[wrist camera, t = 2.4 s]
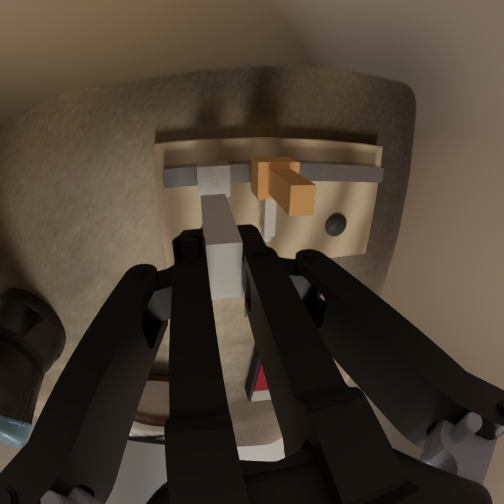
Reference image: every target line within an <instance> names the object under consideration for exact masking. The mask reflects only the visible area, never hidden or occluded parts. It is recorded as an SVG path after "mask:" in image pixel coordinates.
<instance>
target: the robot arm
mask: <svg viewBox="0 0 504 504" xmlns="http://www.w3.org/2000/svg"><path fill="white" fill-rule="evenodd" d="M201 210H202V226H203V228H201V229H189V230H183V231H182V232H181V233H180V234H179V236H177V237H176V238H174V239H173V241H172V247H173V254H174V265H173V266H171V267H169V268H167V269H164V270H161V271H158V272H157V269H156V267H155V266H153V265H150V264H139V265H135V266H134V267H132V268H130V269H129V270H128V271H127V272H126V273H125V274H124V276H123V277H122V278H121V280H120V281H119V283H118V284H117V286H116V287H115V288H114V290H113V291H112V293H111V294H110V296H109V297H108V299H107V300H106V302H105V303H104V305H103V306H102V308H101V309H100V311H99V312H98V314H97V315H96V317H95V318H94V320H93V321H92V323H91V324H90V326H89V328H88V329H87V331H86V332H85V334H84V336H83V337H82V339H81V341H80V342H79V344H78V345H77V347H76V349H75V351H74V352H73V354H72V356H71V357H70V359H69V361H68V363H67V364H66V366H65V368H64V370H63V371H62V373H61V375H60V377H59V379H58V381H57V382H56V384H55V386H54V388H53V390H52V392H51V394H50V396H49V398H48V400H47V402H46V404H45V406H44V408H43V410H42V412H41V414H40V416H39V418H38V421H37V423H36V425H35V427H34V429H33V432H32V434H31V436H30V439H29V441H28V443H27V444H26V442H27V439H28V435H29V432H30V429H31V428H32V425H31V424H32V419H33V415H34V411H35V407H36V403H37V399H38V395H39V391H40V388H41V384H42V381H43V378H44V375H45V373H46V372H47V371H48V370H49V369H50V367H51V366H52V365H53V363H54V362H55V361H56V360H57V359H58V358H59V357H60V356H61V354H62V352H63V349H64V346H65V343H66V335H65V331H64V328H63V326H62V324H61V322H60V320H59V319H58V317H57V316H56V315H55V313H54V312H53V311H52V310H51V309H50V308H49V307H48V306H47V305H46V304H45V303H44V302H43V301H41V300H40V299H39V298H37V297H36V296H34V295H32V294H30V293H28V292H26V291H23V290H20V289H8V290H6V291H4V292H3V293H2V294H1V296H0V442H1V443H4V444H6V445H10V446H14V447H22V446H24V445H25V444H26V445H25V446H24V447H23V448H22V449H21V450H20V451H19V453H18V454H17V455H16V456H15V457H14V458H13V459H12V460H11V461H10V463H9V464H8V465H7V466H6V467H5V468H4V469H3V471H2V472H1V473H0V504H105V503H106V501H107V499H108V497H109V495H110V493H111V491H112V489H113V486H114V484H115V481H116V478H117V474H118V471H119V467H120V464H121V460H122V457H123V453H124V450H125V447H126V443H127V440H128V437H129V433H130V430H131V427H132V424H133V421H134V418H135V415H136V412H137V408H138V405H139V402H140V400H141V397H142V394H143V391H144V388H145V385H146V382H147V379H148V376H149V374H150V371H151V368H152V365H153V362H154V360H155V357H156V354H157V352H158V349H159V346H160V344H161V341H162V338H163V336H164V333H165V330H166V328H167V325H168V319H170V340H169V418H167V419H166V421H165V427H164V436H165V456H166V469H167V482H166V483H165V484H163V485H162V486H161V487H160V488H159V489H158V490H157V491H156V492H155V493H154V494H153V495H152V497H151V498H150V499H149V500H148V502H147V503H146V504H492V499H491V496H490V494H489V492H488V490H487V489H486V488H485V487H484V486H483V485H482V484H483V481H484V479H485V476H486V473H487V470H488V467H489V464H490V461H491V458H492V454H493V451H494V447H495V444H496V440H497V439H498V437H500V436H501V435H502V434H503V433H504V390H502V389H500V388H498V387H496V386H494V385H492V384H490V383H488V382H486V381H484V380H482V379H480V378H478V377H476V376H474V375H472V374H470V373H468V372H466V371H465V370H464V369H463V368H462V367H461V366H460V365H459V364H458V363H456V362H455V361H454V360H453V359H452V358H451V357H450V356H449V355H448V354H446V353H445V352H444V351H443V350H442V349H441V348H440V347H438V346H437V345H436V344H435V343H434V342H433V341H431V340H430V339H429V338H428V337H427V336H426V335H424V334H423V333H422V332H421V331H420V330H419V329H418V328H416V327H415V326H414V325H413V324H412V323H410V322H409V321H408V320H407V319H406V318H404V317H403V316H402V315H401V314H400V313H398V312H397V311H396V310H395V309H394V308H392V307H391V306H390V305H389V304H387V303H386V302H385V301H384V300H382V299H381V298H380V297H379V296H378V295H376V294H375V293H374V292H373V291H371V290H370V289H369V288H368V287H366V286H365V285H364V284H363V283H361V282H360V281H359V280H357V279H356V278H355V277H354V276H352V275H351V274H350V273H348V272H347V271H346V270H345V269H343V268H342V267H341V266H339V265H338V264H337V263H336V262H334V261H333V260H332V259H330V258H329V257H328V256H326V255H325V254H324V253H322V252H320V251H317V250H314V249H304V250H300V251H298V252H297V253H296V256H295V259H289V258H282V257H279V256H278V254H277V252H276V251H275V250H274V249H273V248H271V247H268V246H267V245H266V244H265V242H264V240H263V238H262V236H261V234H260V232H259V230H258V228H257V227H255V226H254V225H252V224H245V225H236V222H235V220H234V217H233V214H232V211H231V209H230V206H229V203H228V200H227V197H226V195H225V194H215V195H201ZM243 290H244V294H245V317H247V315H248V318H249V322H250V326H251V329H252V333H253V336H254V340H255V344H256V347H257V351H258V354H259V358H260V361H261V365H262V369H263V372H264V376H265V379H266V383H267V386H268V389H269V393H270V396H271V400H272V403H273V407H274V410H275V413H276V417H277V420H278V423H279V427H280V430H281V433H282V437H283V442H284V452H285V458H284V459H282V460H279V461H275V462H266V461H246V460H239V455H238V450H237V446H236V441H235V436H234V431H233V426H232V421H231V416H230V413H229V408H228V403H227V397H226V391H225V385H224V380H223V373H222V367H221V361H220V355H219V348H218V341H217V334H216V327H215V320H214V313H213V305H212V300H219V299H229V298H239V297H243ZM321 294H322V295H323V296H324V298H325V301H324V300H322V299H321V298H320V296H321ZM332 357H333V358H334V359H335V360H336V362H337V363H338V364H339V365H340V366H341V367H342V368H343V370H344V371H345V372H346V373H347V374H348V375H349V376H350V377H351V379H353V381H354V382H355V383H356V384H357V385H358V386H359V388H360V389H361V390H360V389H359V388H357V387H349V386H347V384H346V383H345V381H344V379H343V377H342V375H341V373H340V371H339V370H338V368H337V366H336V364H335V362H334V360H333V358H332ZM362 391H363V392H364V393H365V394H366V395H367V396H368V397H369V399H370V400H371V401H372V402H373V403H374V404H375V405H376V407H377V408H378V409H379V410H380V411H381V412H382V413H383V414H384V416H385V417H386V418H387V419H388V420H389V421H390V422H391V423H392V424H393V425H394V427H395V428H396V429H397V430H398V431H399V432H400V433H401V434H402V435H403V436H404V437H406V438H407V439H408V440H409V441H411V442H412V443H413V444H415V445H416V446H418V447H420V448H421V449H423V450H424V451H423V453H422V454H421V457H420V459H421V461H420V460H417V459H415V458H412V457H411V456H408V455H406V454H404V453H402V452H400V451H398V450H396V449H393V448H392V446H391V444H390V443H389V441H388V439H387V436H386V435H385V433H384V431H383V429H382V427H381V425H380V423H379V421H378V419H377V417H376V415H375V413H374V411H373V409H372V407H371V406H370V404H369V402H368V400H367V398H366V396H365V395H364V393H363V392H362Z"/></svg>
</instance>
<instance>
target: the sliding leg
mask: <svg viewBox="0 0 504 504" xmlns="http://www.w3.org/2000/svg"><path fill="white" fill-rule="evenodd" d="M299 171H300V162H299V161H297V160H295V159H293V158H291V157H251V191H252V193H253V194H254V195H255V197H256V198H257V200H264V203H263V229H261V231H260V234H261V236H262V238H263V240H264V241H265V242H269V241H270V240H271V239H272V237H275V222H276V202H277V204H278V205H279V206H280V207H281V208H282V209H283V210H284V211H285V213H286V214H287V215H288V216H308V215H313V214H314V204H315V194H316V185H315V184H314V183H312V182H311V181H309V180H307V179H306V178H304V177H303V176H301V175H300V174H299Z"/></svg>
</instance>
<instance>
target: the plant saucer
mask: <svg viewBox="0 0 504 504" xmlns="http://www.w3.org/2000/svg"><path fill="white" fill-rule="evenodd" d="M167 418H169V377H166V376H156V375H149V376H148V379H147V382H146V385H145V388H144V391H143V394H142V397H141V400H140V402H139V405H138V408H137V412H136V415H135V418H134V421H135V422H138V423H141V424H145V425H150V426H157V427H165V421H166V419H167Z"/></svg>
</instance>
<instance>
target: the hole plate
mask: <svg viewBox="0 0 504 504" xmlns="http://www.w3.org/2000/svg"><path fill="white" fill-rule="evenodd" d="M153 146H154V161H155V173H156V184H157V194H158V203H159V212H160V220H161V228H162V235H163V242H164V249H165V255H166V261H167V267H168V268H169V267H171V266H173V265H174V254H173V247H172V241H173V239H174V238H176V237H177V236H179V234H180V233H181V232H182V231H183V230H189V229H201V228H203V226H202V210H201V199H198V187H197V186H186V187H174V188H164V187H163V175H162V169H163V167H164V166H169V165H180V164H192V163H196V162H200V161H217V160H226V161H251V157H291V158H293V159H295V160H305V161H333V162H350V163H364V164H375V165H378V166H381V157H382V148H383V147H381V146H377V145H372V144H364V143H355V142H345V141H335V140H322V139H306V138H281V137H234V138H209V139H193V140H180V141H169V142H160V143H155V144H153ZM311 182H312V183H314V184H315V185H316V194H315V204H314V214H313V215H308V216H288V215H287V214H286V213H285V211H284V210H283V209H282V208H281V207H280V206H279V205H278V204H277V202H276V222H275V237H272V239H271V240H270V241H269V242H265V241H264V242H265V244H266V245H267V246H268V247H271V248H273V249H274V250H275V251H276V252H277V254H278V256H279V257H282V258H289V259H295V256H296V253H297V252H298V251H300V250H304V249H314V250H317V251H320V252H322V253H324V254H325V255H326V256H328V257H329V258H332V257H341V256H350V255H358V254H365V251H366V247H367V242H368V237H369V232H370V227H371V222H372V217H373V211H374V206H375V200H376V194H377V187H378V183H371V182H341V181H311ZM227 200H228V203H229V206H230V209H231V211H232V214H233V217H234V220H235V222H236V225H245V224H252V225H254V226H255V227H257V228H258V230H259V232H260V231H261V229H263V203H264V200H257V198H256V197H255V195H254V194H253V193H252V191H251V182H248V183H230V197H227Z"/></svg>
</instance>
